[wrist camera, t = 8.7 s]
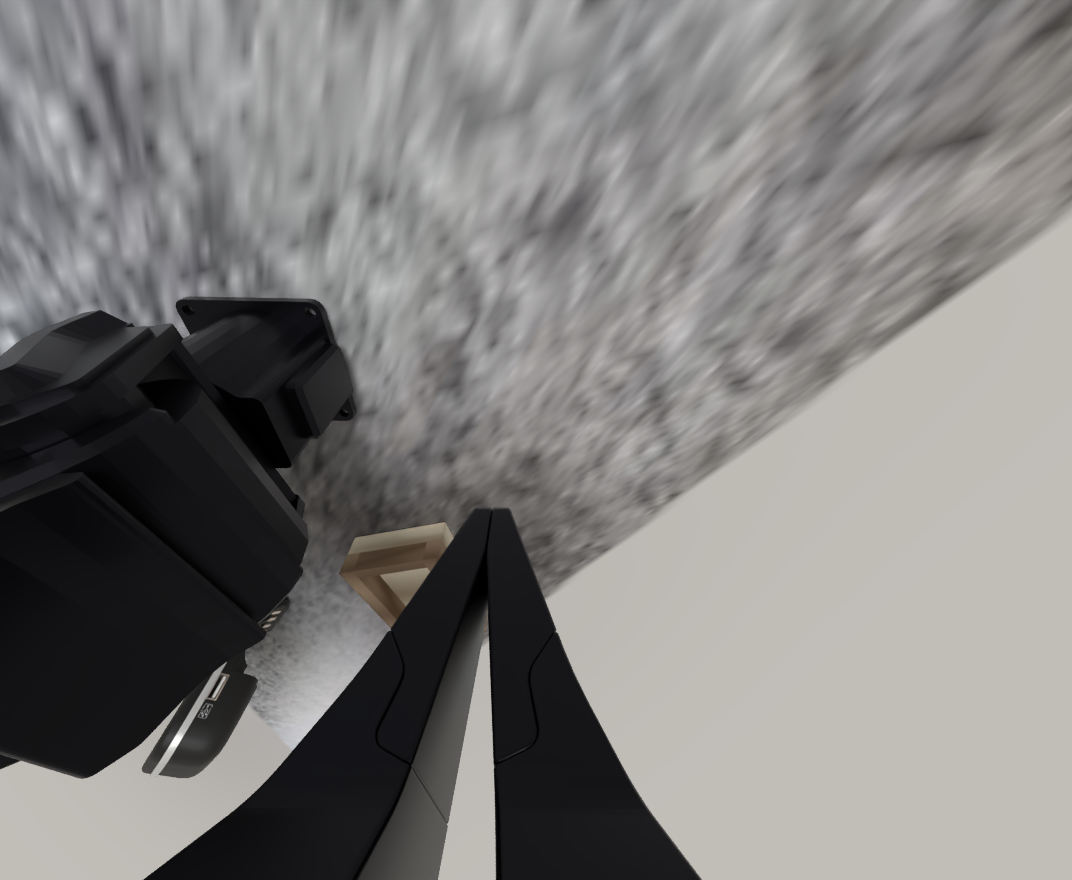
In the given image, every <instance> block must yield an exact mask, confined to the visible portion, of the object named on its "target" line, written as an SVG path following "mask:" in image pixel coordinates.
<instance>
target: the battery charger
mask: <svg viewBox="0 0 1072 880" xmlns="http://www.w3.org/2000/svg"><path fill="white" fill-rule="evenodd" d="M288 604H289V602H288V600H287V599H285V598H284V599H283V600H282V601H281V602H280V603H279V604H278V606H277V607H276V608H275V609H274V610H273V611H272V612H271V613H270V614H269V615H268V616H267V617H266V618H265V619H263V620H262V621H261V622H260V623H258V624H259V625H260V626H261V627H263V628H264V629H265V630H266V632H268V631H270V630H271V629H272V628H273V627H274V626H275V624H276V623H277V622H278V621H279V619H280V618H281V617H282V615H283V614H284V613H285V611H286V609H287V607H288ZM246 667H247V664H246V661H245V651H243V652H241V653H239V654H238V655H236V656H234V657H233V658H231V659H230V660H228V661H227V662H226V663H225V664H223V665H222V666H221V667H220V668H218V669H217V670H216V671H214V672H213V673H212V674H211V675H209V676H208V677H207V678H206V679H204V680H203V681H202V682H201V683H200V684H199V685H198V686H197V687H196V688H195V689H194V690H193V691H192V692H191V693H190V694H189V695H188V696H186V697H185V699H184V700H183V702H182V704H181V705H180V707H179V708H178V710H177V712H176V713H175V715H174V716H173V718H172V720H171V721H170V723H169V724H168V726H167V728H166V729H165V731H164V733H163V734H162V736H161V737H160V739H159V740H158V742H157V744H156V745H155V747H154V749H153V750H152V752H151V753H150V755H149V757H148V758H147V760H146V762H145V763H144V765H143V767H142V771H143V772H144V773H148V774H150V776H154V777H157V776H158V775H163V776H170V777H176V778H190V777H193V776H195V775H197V774H198V773H200V772H201V771H202V770H203V769H204V768H205V767H207V766H208V765H209V764H210V763H211V761H213V759H214V758H215V757H216V756H217V755H218V754H219V753H220V752H221V750H222V749H223V747H224V746H225V744H226V743H227V741H228V739H229V737H230V736H231V734H232V732H233V730H234V729H235V727H236V725H237V723H238V721H239V720H240V718H241V716H242V714H243V712H244V710H245V709H246V707H247V705H248V703H249V701H250V699H251V697H252V696H253V694H254V692H255V690H256V688H257V685H256V684H257V682H258V679H257V678H255V677H253V676H251V675H247V674H244V671H245V669H246Z"/></svg>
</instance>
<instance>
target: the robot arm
mask: <svg viewBox="0 0 1072 880" xmlns="http://www.w3.org/2000/svg"><path fill="white" fill-rule="evenodd" d="M188 306H190V307H191V308H192V309H193V310H194V312H193V311H191V310H190V309H189V307H188ZM308 307H310V308H312V309H313V310H314V311H315V312H316V315H313V314H312V313H310V311H309V310H308ZM176 309H177V311H178V313H179V315H180V317H181V318H182V320H183V322H184V324H185V326H186V328H187V329H188V331H189V333H190V335H189V336H188V337H186V338H184V339H183V338H182V336H181V335H180V333H179V332H178V331H177V329H176V328H175V327H174V325H173V324H163V325H157V326H151V327H148V326H142V327H134V325H133V324H132V323H126V322H124V321H122V320H120V319H118V318H116V317H114V316H112V315H110V314H107V313H105V312H103V311H101V310H98V311H92V312H86V313H82V314H79V315H77V316H74V317H72V318H69V319H67V320H64V321H62V322H59V323H57V324H54V325H52V326H49V327H47V328H44V329H42V330H40V331H37V332H35V333H33V334H31V335H29V336H27V337H25V338H23V339H22V340H20V341H19V342H17V343H16V344H15V345H14V346H12V347H11V348H10V349H9V350H8V351H6V352H5V353H3V354H2V355H1V356H0V769H2V768H5V767H7V766H9V765H12V764H14V763H17V762H19V761H24V762H27V763H30V764H34V765H37V766H40V767H44V768H47V769H50V770H54V771H57V772H60V773H63V774H67V775H71V776H73V777H77V778H81V779H83V778H88V777H90V776H93V775H95V774H96V773H98V772H100V771H101V770H103V769H104V768H106V767H107V766H109V765H110V764H112V763H113V762H115V761H116V760H118V759H119V758H121V757H122V756H124V755H126V754H127V753H129V752H130V751H132V750H133V749H135V748H136V747H137V746H139V745H140V744H141V743H142V742H143V741H144V740H145V739H146V738H147V737H148V736H149V735H150V734H151V733H152V732H153V731H154V730H155V729H156V728H157V727H158V726H159V725H160V724H161V722H162V721H163V720H164V719H165V718H166V717H167V716H168V715H169V714H170V713H171V712H172V711H173V710H174V709H175V708H176V707H177V706H178V705H179V704H180V703H181V701H182V700H183V699H184V698H185V697H186V696H188V695H189V694H190V693H191V692H192V691H193V690H194V689H195V688H196V687H197V686H198V685H199V684H200V683H201V682H202V681H203V680H204V679H206V678H207V677H208V676H209V675H211V674H212V673H213V672H214V671H216V670H217V669H218V668H220V667H221V666H222V665H223V664H225V663H226V662H227V661H228V660H230V659H231V658H233V657H234V656H236V655H238V654H239V653H241V652H243V651H245V650H246V649H248V648H250V647H251V646H253V645H255V644H256V643H258V642H260V641H261V640H262V639H263V638H264V637H265V635H266V630H265V629H264V628H263V627H261V626H260V625H259V624H258V623H260V622H261V621H262V620H263V619H265V618H266V617H267V616H268V615H269V614H270V613H271V612H272V611H273V610H274V609H275V608H276V607H277V606H278V604H279V603H280V602H281V601H282V600H283V599H284V598H285V597H286V596H287V595H288V594H289V593H290V591H291V590H292V588H293V587H294V586H295V584H296V583H297V581H298V580H299V578H300V577H301V575H302V573H303V568H302V567H301V566H300V564H301V562H302V559H303V556H304V553H305V550H306V547H307V544H308V531H307V525H306V523H305V522H304V521H303V519H302V518H303V512H304V506H305V503H304V502H303V501H302V499H301V498H300V496H299V495H297V494H294V493H293V491H292V490H291V489H290V487H289V486H288V485H287V483H286V482H285V481H284V479H283V478H282V477H281V475H280V474H279V473H278V471H277V470H276V469H275V468H290V467H291V465H292V464H293V463H294V461H295V460H296V459H297V457H298V456H299V455H300V453H301V452H302V450H303V449H304V448H305V446H306V445H307V444H308V442H309V441H310V440H311V439H318V438H319V437H320V436H321V435H322V433H323V432H324V431H325V429H326V428H327V426H328V425H329V424H330V422H331V421H332V420H338V421H347V420H351V419H352V418H353V417H354V415H355V413H356V408H355V405H354V401H353V398H352V395H351V393H352V391H353V389H352V385H351V382H350V379H349V376H348V372H347V369H346V366H345V363H344V359H343V356H342V353H341V350H340V348H339V346H338V345H337V344H335V341H334V337H333V334H332V331H331V328H330V325H329V321H328V318H327V315H326V312H325V309H324V307H323V306H322V304H321V303H320V302H318V301H316V300H313V299H289V298H235V297H185V298H183V299H180V300H178V301H177V302H176ZM342 409H345V410H347V411H348V413H346V412H344V411H343V410H342ZM487 612H488V622H489V650H490V677H491V702H492V703H491V704H492V731H493V758H494V785H495V831H496V832H495V834H496V880H702V879H701V878H700V877H699V875H698V874H697V873H696V871H695V870H694V869H693V867H692V866H691V865H690V863H689V862H688V861H687V859H686V858H685V857H684V856H683V854H682V853H681V852H680V850H679V849H678V848H677V846H676V845H675V844H674V842H673V841H672V840H671V838H670V837H669V836H668V834H667V833H666V832H665V830H664V829H663V828H662V826H661V825H660V824H659V823H658V821H657V820H656V819H655V817H654V816H653V815H652V813H651V812H650V811H649V809H648V808H647V806H646V805H645V803H644V802H643V800H642V798H641V797H640V795H639V794H638V792H637V791H636V789H635V787H634V785H633V784H632V782H631V781H630V779H629V777H628V775H627V774H626V772H625V770H624V768H623V767H622V764H621V763H620V761H619V759H618V757H617V755H616V753H615V751H614V750H613V748H612V746H611V744H610V742H609V740H608V738H607V736H606V734H605V733H604V731H603V729H602V727H601V725H600V723H599V721H598V719H597V717H596V716H595V714H594V712H593V710H592V708H591V706H590V704H589V702H588V700H587V698H586V696H585V695H584V692H583V690H582V688H581V686H580V684H579V682H578V680H577V678H576V676H575V674H574V672H573V669H572V667H571V665H570V662H569V660H568V658H567V655H566V653H565V650H564V648H563V645H562V643H561V640H560V637H559V635H558V633H557V632H556V628H555V625H554V623H553V620H552V617H551V614H550V612H549V609H548V607H547V604H546V601H545V599H544V596H543V594H542V591H541V588H540V586H539V583H538V581H537V578H536V575H535V573H534V570H533V568H532V565H531V562H530V560H529V557H528V555H527V552H526V549H525V547H524V544H523V541H522V539H521V536H520V534H519V531H518V528H517V526H516V523H515V521H514V518H513V515H512V513H511V510H510V509H509V508H494V509H493V510H492V509H491V508H481V507H478V508H475V509H474V510H473V511H472V513H471V514H470V515H469V517H468V518H467V520H466V521H465V523H464V524H463V525H462V527H461V528H460V530H459V531H458V533H457V534H456V535H455V537H454V538H453V540H452V541H451V543H450V544H449V545H448V547H447V548H446V550H445V551H444V553H443V554H442V555H441V557H440V558H439V560H438V561H437V563H436V564H435V565H434V567H433V568H432V570H431V571H430V573H429V574H428V575H427V577H426V578H425V580H424V581H423V583H422V584H421V585H420V587H419V588H418V590H417V591H416V593H415V594H414V596H413V597H412V598H411V600H410V601H409V603H408V604H407V606H406V607H405V608H404V610H403V611H402V613H401V614H400V616H399V617H398V618H397V620H396V621H395V623H394V624H393V626H392V627H391V631H388V632H387V634H386V635H385V637H384V638H383V640H382V641H381V642H380V644H379V645H378V647H377V648H376V650H375V651H374V652H373V654H372V655H371V656H370V658H369V659H368V660H367V662H366V663H365V664H364V666H363V667H362V668H361V670H360V671H359V672H358V674H357V675H356V676H355V677H354V679H353V680H352V681H351V682H350V683H349V685H348V686H347V687H346V688H345V690H344V691H343V692H342V693H341V694H340V696H339V697H338V698H337V699H336V701H335V702H334V703H333V704H332V705H331V706H330V708H329V709H328V710H327V711H326V712H325V713H324V715H323V716H322V717H321V718H320V719H319V721H318V722H317V723H316V724H315V725H314V726H313V728H312V729H311V730H310V731H309V732H308V733H307V735H306V736H305V737H304V738H303V739H302V740H301V742H300V743H299V744H298V745H297V746H296V748H295V749H294V750H293V751H292V752H291V753H290V755H289V756H288V757H287V758H286V759H285V761H284V762H283V763H282V764H281V765H280V766H279V767H278V769H277V770H276V771H275V772H274V773H273V774H272V775H271V776H270V777H269V779H268V780H267V781H266V782H265V783H264V784H263V785H262V786H261V787H260V788H259V789H258V790H257V791H256V792H255V793H254V794H252V795H251V796H250V797H249V798H248V799H247V800H246V801H245V802H244V803H242V804H241V805H240V806H239V807H238V808H237V809H235V810H234V811H233V812H232V813H230V814H229V815H228V816H226V817H225V818H224V819H223V820H221V821H220V822H218V823H217V824H216V825H215V826H213V827H212V828H211V829H209V830H208V831H207V832H205V833H204V834H203V835H201V836H200V837H199V838H198V839H196V840H195V841H194V842H192V843H191V844H190V845H188V846H187V847H186V848H184V849H183V850H182V851H180V852H179V853H178V854H176V855H175V856H174V857H172V858H171V859H170V860H169V861H167V862H166V863H165V864H163V865H162V866H161V867H159V868H158V869H157V870H155V871H154V872H153V873H151V874H150V875H149V876H147V877H146V878H145V879H144V880H438V875H439V870H440V865H441V859H442V854H443V849H444V843H445V838H446V832H447V827H448V826H447V823H448V821H449V816H450V811H451V805H452V800H453V794H454V789H455V784H456V778H457V773H458V768H459V762H460V757H461V751H462V746H463V741H464V735H465V730H466V724H467V719H468V714H469V708H470V703H471V697H472V692H473V687H474V682H475V676H476V670H477V665H478V660H479V654H480V649H481V644H482V639H483V633H484V628H485V623H486V617H487Z"/></svg>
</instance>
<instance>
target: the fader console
mask: <svg viewBox="0 0 1072 880" xmlns="http://www.w3.org/2000/svg"><path fill="white" fill-rule="evenodd" d="M453 538H454V537H453V535H452V533H451V532H450V530H449V528H448V526H447V525H446V523H445V522H443V523H437V524H431V525H425V526H419V527H413V528H408V529H402V530H396V531H390V532H384V533H378V534H373V535H367V536H361V537H355V539H354V541H353V544H352V546H351V548H350V550H349V553H348V555H347V557H346V559H345V562H344V564H343V566H342V568H341V571H340V573H339V574H340V575H341V576H342V577H343V578H344V579H345V580H346V581H347V582H348V584H349V585H350V586H351V587H352V588H353V589H354V590H355V591H356V592H357V593H358V594H359V595H360V596H361V597H362V598H363V599H364V600H365V601H366V602H367V603H368V604H369V605H370V607H371V608H372V609H373V610H374V611H375V612H376V613H377V614H378V615H379V616H380V617H381V618H382V619H383V620H384V621H385V622H386V623H387V624H388V625H389V626H390V627H392V626H393V624H394V623H395V621H396V620H397V618H398V617H399V616H400V614H401V613H402V611H403V610H404V608H405V607H406V606H407V604H408V603H409V601H410V600H411V598H412V597H413V596H414V594H415V593H416V591H417V590H418V588H419V587H420V585H421V584H422V583H423V581H424V580H425V578H426V577H427V575H428V574H429V573H430V571H431V570H432V568H433V567H434V565H435V564H436V563H437V561H438V560H439V558H440V557H441V555H442V554H443V553H444V551H445V550H446V548H447V547H448V545H449V544H450V543H451V541H452V540H453ZM487 613H488V612H487ZM486 623H487V617H486ZM486 623H485V628H484V632H486Z"/></svg>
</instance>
